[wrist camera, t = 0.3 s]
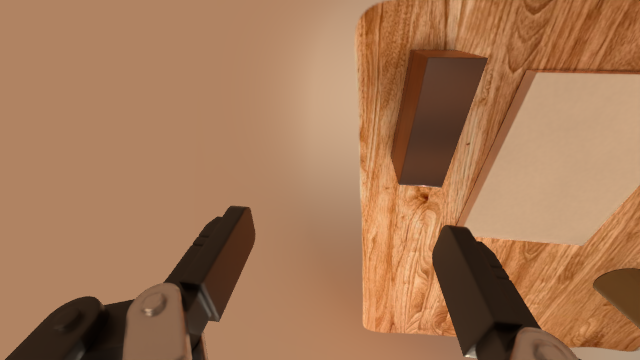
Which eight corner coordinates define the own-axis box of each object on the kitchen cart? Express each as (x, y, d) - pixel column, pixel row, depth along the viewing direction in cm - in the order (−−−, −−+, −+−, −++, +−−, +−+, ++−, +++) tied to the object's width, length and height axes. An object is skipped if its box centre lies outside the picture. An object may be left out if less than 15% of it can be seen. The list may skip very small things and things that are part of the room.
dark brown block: (410, 49, 21) (428, 57, 16) (456, 49, 21) (488, 58, 16) (390, 156, 27) (398, 185, 22) (425, 157, 27) (441, 187, 22)
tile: (526, 69, 21) (537, 72, 20) (717, 73, 20) (742, 76, 18) (455, 227, 32) (459, 235, 31) (574, 237, 31) (583, 246, 30)
